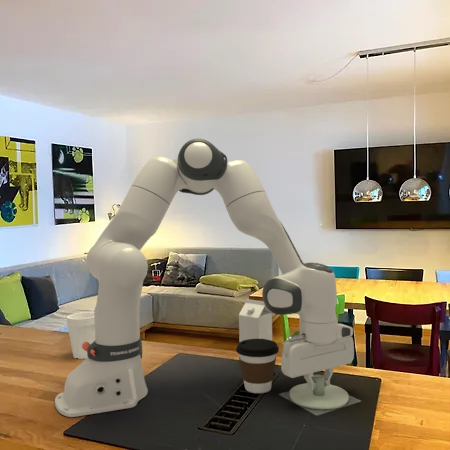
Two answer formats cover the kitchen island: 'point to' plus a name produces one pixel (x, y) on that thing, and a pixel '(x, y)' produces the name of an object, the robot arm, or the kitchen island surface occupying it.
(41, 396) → the kitchen island surface
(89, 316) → the foam cup
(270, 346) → the coffee cup
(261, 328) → the milk carton
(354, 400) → the mat
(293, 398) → the lid
